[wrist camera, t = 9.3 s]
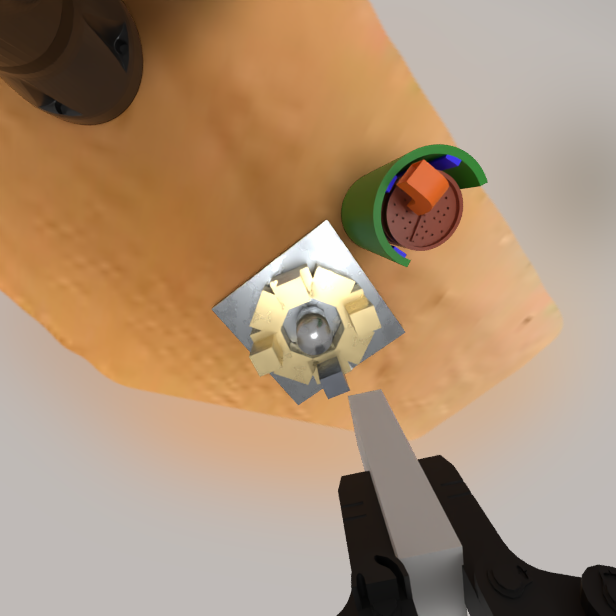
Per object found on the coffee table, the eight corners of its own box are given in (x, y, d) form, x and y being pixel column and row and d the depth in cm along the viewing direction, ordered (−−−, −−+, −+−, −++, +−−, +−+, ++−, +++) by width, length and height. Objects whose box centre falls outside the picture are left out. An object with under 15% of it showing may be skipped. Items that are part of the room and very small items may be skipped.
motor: (383, 258, 42) (459, 293, 23) (328, 229, 40) (360, 240, 21) (421, 190, 40) (542, 165, 20) (364, 156, 38) (437, 95, 19)
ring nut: (283, 386, 45) (281, 417, 38) (235, 293, 41) (223, 309, 34) (381, 347, 44) (398, 371, 37) (343, 247, 39) (354, 253, 33)
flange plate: (214, 306, 43) (197, 325, 35) (325, 219, 40) (333, 220, 32) (298, 399, 48) (299, 433, 40) (401, 328, 45) (424, 351, 38)
